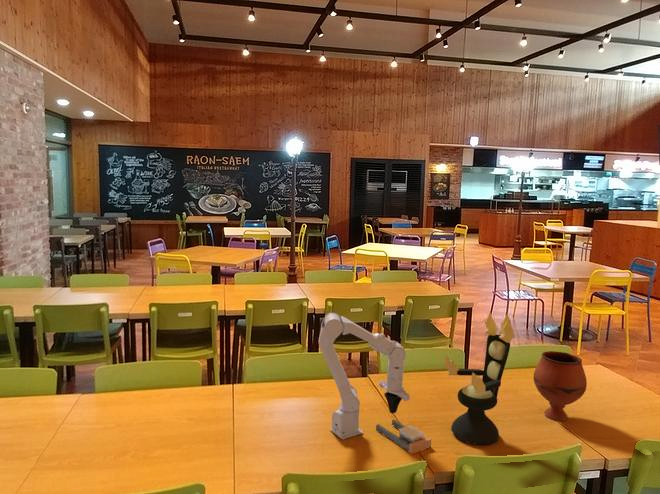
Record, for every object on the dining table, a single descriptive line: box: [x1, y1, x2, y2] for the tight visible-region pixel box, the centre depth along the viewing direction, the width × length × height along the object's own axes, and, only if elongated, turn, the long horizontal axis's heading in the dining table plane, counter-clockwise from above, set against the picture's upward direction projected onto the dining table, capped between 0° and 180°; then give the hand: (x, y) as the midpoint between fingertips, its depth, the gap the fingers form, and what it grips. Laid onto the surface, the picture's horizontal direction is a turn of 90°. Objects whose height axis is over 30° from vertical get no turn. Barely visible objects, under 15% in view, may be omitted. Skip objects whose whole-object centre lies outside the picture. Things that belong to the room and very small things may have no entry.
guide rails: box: [375, 419, 432, 454], centre depth 183 cm, size 9×20×3 cm, turn 33°
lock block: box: [398, 425, 425, 444], centre depth 179 cm, size 5×7×5 cm
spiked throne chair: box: [444, 312, 515, 446], centre depth 186 cm, size 19×22×45 cm
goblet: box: [533, 350, 588, 422], centre depth 203 cm, size 19×19×25 cm
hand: (392, 412), depth 187 cm, fingers closed
